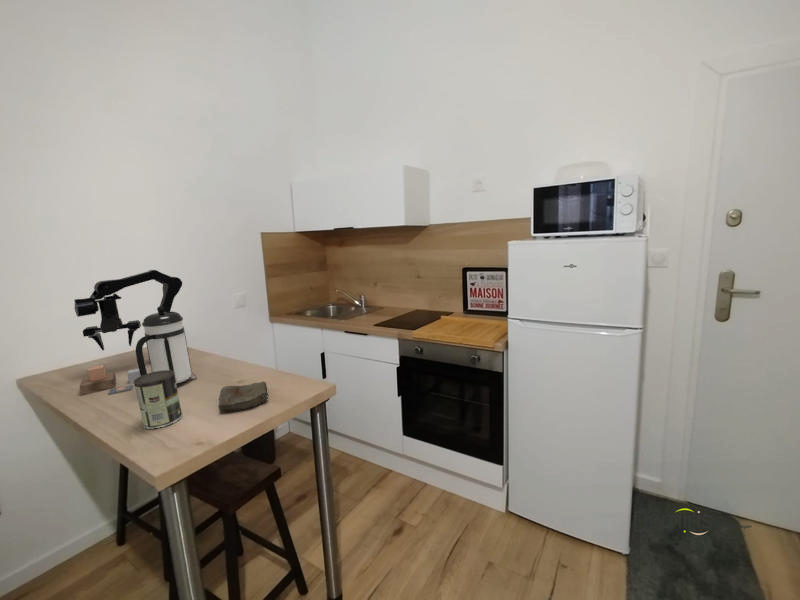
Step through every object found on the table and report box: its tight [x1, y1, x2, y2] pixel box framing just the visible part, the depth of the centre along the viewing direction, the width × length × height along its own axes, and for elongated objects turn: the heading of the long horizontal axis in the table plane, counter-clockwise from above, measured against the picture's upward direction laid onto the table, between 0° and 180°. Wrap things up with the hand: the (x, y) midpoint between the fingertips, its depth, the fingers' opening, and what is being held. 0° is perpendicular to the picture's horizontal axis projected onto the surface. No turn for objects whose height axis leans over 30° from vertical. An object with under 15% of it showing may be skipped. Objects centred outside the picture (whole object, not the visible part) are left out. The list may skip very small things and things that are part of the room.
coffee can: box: [133, 370, 183, 430], centre depth 113 cm, size 10×10×14 cm
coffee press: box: [135, 305, 197, 386], centre depth 140 cm, size 17×16×30 cm
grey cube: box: [126, 368, 141, 385], centre depth 150 cm, size 4×4×4 cm
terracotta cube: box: [87, 364, 108, 382], centre depth 145 cm, size 4×4×4 cm
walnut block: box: [79, 371, 117, 397], centre depth 146 cm, size 10×10×4 cm
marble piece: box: [218, 381, 269, 414], centre depth 124 cm, size 17×15×4 cm
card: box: [107, 384, 134, 396], centre depth 141 cm, size 7×5×1 cm
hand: (117, 348), depth 159 cm, fingers open, 9 cm apart
